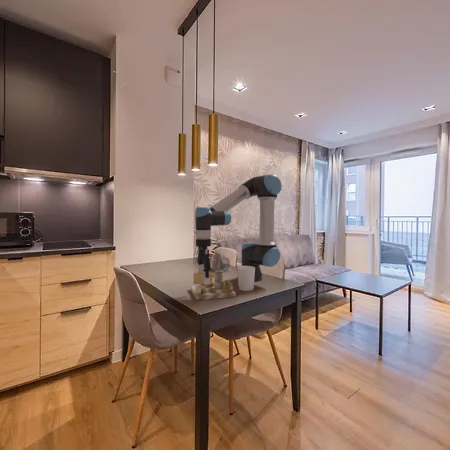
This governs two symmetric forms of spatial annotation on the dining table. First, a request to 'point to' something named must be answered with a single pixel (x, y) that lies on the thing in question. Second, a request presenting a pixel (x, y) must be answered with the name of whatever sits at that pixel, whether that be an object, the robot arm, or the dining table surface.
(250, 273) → the candle holder
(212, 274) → the wing knob
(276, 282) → the dining table surface
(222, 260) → the ceramic cottage
